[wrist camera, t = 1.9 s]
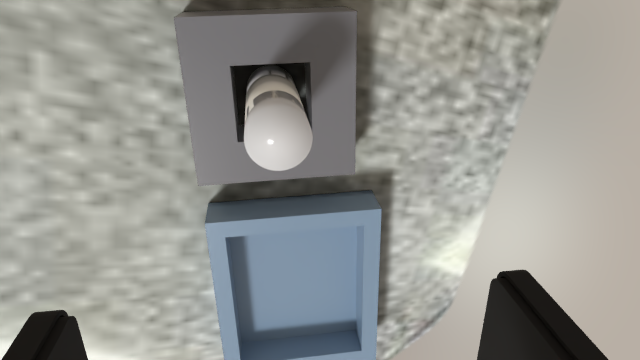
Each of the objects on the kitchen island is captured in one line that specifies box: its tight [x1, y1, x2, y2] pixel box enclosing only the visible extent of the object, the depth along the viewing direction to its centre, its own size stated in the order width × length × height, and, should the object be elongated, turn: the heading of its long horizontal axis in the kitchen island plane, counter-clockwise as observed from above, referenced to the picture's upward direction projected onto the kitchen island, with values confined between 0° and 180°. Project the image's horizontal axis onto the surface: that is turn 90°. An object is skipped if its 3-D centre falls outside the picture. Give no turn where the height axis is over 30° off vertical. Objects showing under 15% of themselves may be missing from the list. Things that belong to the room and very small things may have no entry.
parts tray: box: [205, 190, 382, 360], centre depth 36 cm, size 14×12×3 cm
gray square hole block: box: [174, 7, 357, 186], centre depth 29 cm, size 10×10×4 cm
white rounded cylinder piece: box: [244, 65, 313, 171], centre depth 26 cm, size 3×3×10 cm
